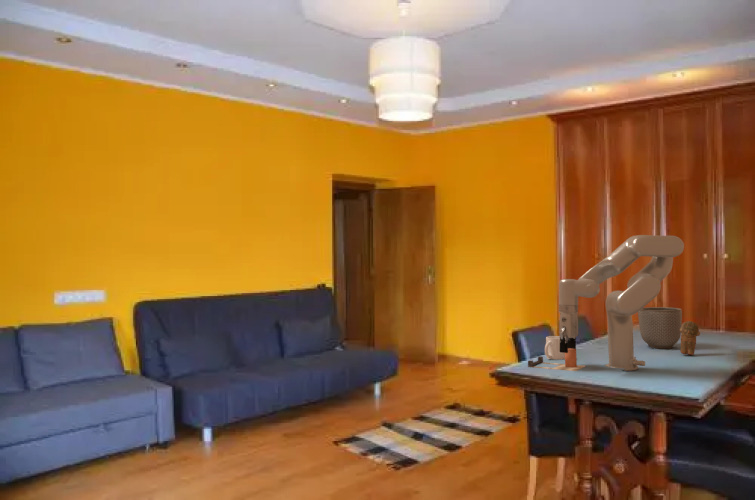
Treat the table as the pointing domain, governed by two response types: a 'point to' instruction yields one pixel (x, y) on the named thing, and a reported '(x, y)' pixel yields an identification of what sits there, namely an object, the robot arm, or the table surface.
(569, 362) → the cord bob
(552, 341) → the mug
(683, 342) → the figurine
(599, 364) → the table surface
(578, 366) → the shelf board
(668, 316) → the planter
